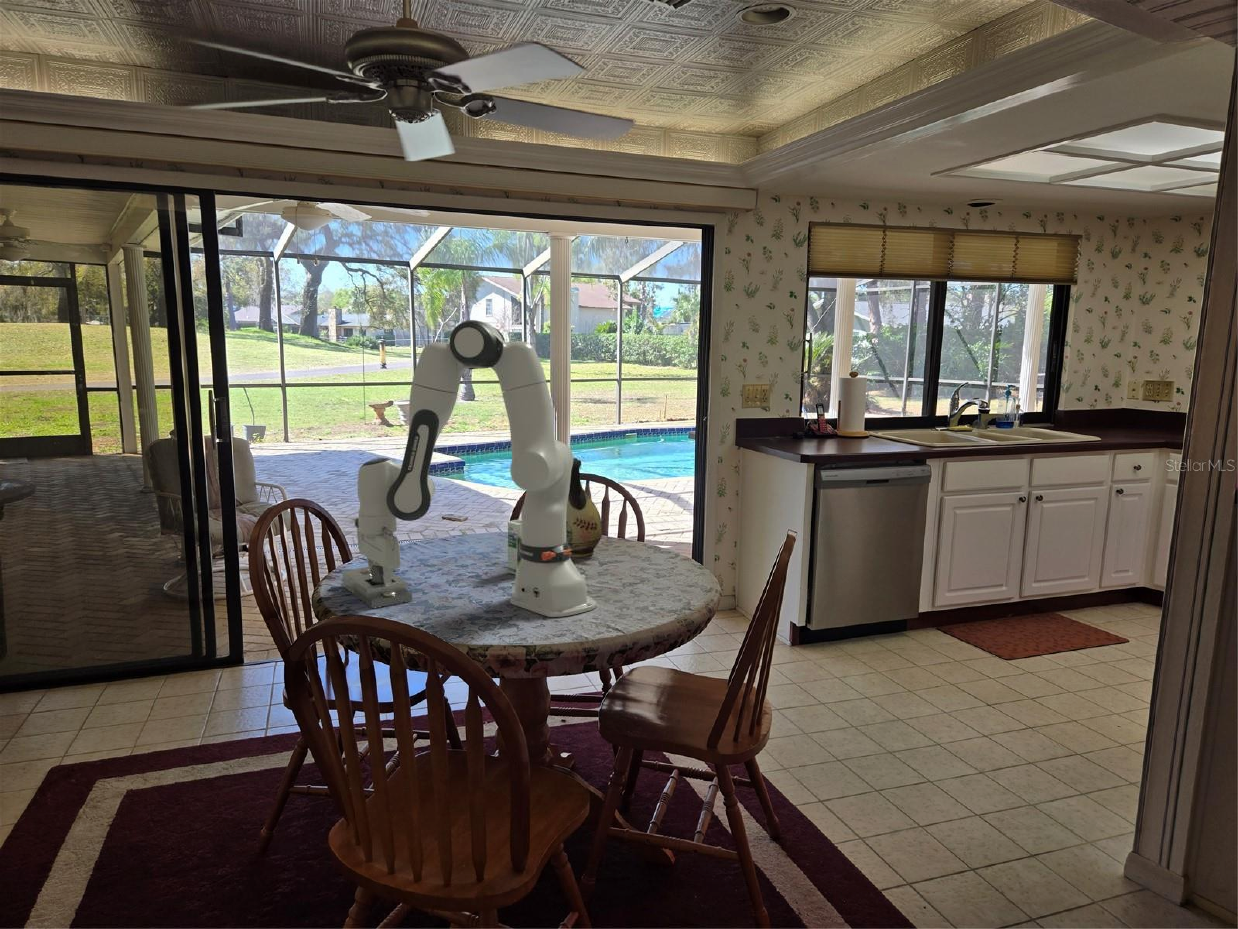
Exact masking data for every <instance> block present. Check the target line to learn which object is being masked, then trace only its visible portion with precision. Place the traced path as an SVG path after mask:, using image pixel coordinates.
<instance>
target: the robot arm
mask: <svg viewBox="0 0 1238 929" xmlns="http://www.w3.org/2000/svg"><path fill="white" fill-rule="evenodd" d="M478 369H479V370H482V369H492V370H493V371H494V373H495V374H496V376H497V379H498V381H499V386H500V391H501V395H502V399H503V402H504V403H503V404H504V406H505V410H506V415H507V419H508V422H509V423H508V424H509V430H510V448H511V464H510V477H511V479H512V481H513V483H514V484H515V485H516V486H517V487H518V488H520V489H522V490H523V491H525V497H524V501H523V505H522V507H521V515H520V516H521V519H520V520H521V531H522V541H521V542H520V547H519V551H520V557H521V561H520V564H519V566H518V567H517V569H516V575H515V581H514V591H513V592H514V593H513V596H512V597H511V598H510V600H509V601H510V602H509V604H511V605H514V606H516V607H519V608H523V609H526V610H528V611H531V612H533V613H537V614H539V615H542V616H544V617H545V616H546V617H549V618H556V617H557V618H558V617H560V618H561V617H566V616H567V617H568V616H573V615H577V614H582V613H585V612H589V611H591V610H594V609H596V608H597V607H598V602H597V601H596V600H594V598H592V597H591V596H589V595H588V589H587V583H586V582H587V577H586V575H585V574H581V572H580V571H579V569H578V567H577V566H576V565H575V564H574V562H573V561H572V559H571V558H572V557H571V554H572V553H570V551H571V550H572V549H570V548H569V545H568V542H567V541H566V511H567V501H568V495H569V488H570V479H571V470H572V466H573V458H574V454H573V451H572V450H571V448H570V446H569V445H567V444H566V443H565V442H562V441H559V440H556V439H555V430H554V420H555V419H554V418H555V411H554V407H553V404H552V403H553V402H552V399H551V394H550V392H549V391H550V390H549V387H548V383H547V379H546V375H545V372H544V368H543V366H542V364H541V360H540V358H539V355H538V353H537V351H536V349H535V348H534V346H533V345H532V344H531V343H529V342H527V341H524V340H523V341H522V340H515V341H506V340H505V338H504V335H503V334H502V333H501V332H500V330H498V329H497V328H496V327H494V326H492V325H491V324H490V323H488V322H484V321H481V320H476V319H475V320H474V319H470V320H469V319H468V320H466V321H462V322H459V324H457V325H456V326H455V327H454V329H453V330H452V332H451V334H450V336H449V342H448V343H447V342H441V341H435V342H431V343H428V344H426V346H424V348H423V349H422V351H421V353H420V356H419V358H418V362H417V365H416V367H415V371H414V374H413V377H412V382H411V386H410V387H411V388H410V395H409V404H408V405H409V409H408V411H409V412H408V413H409V414H408V415H409V417H408V420H409V421H408V435H407V442H406V444H405V445H406V446H405V449H404V456H403V459H402V463H401V464H399V463H396V462H394V460H392V458H388V457H383V458H382V457H381V458H375V459H371V460H368V461H366V462H364V463H362V464H361V466H360V467H359V469H358V474H357V497H358V500H359V508H358V517H356V518H354V527H355V528H356V537H357V546H358V550H359V553H360V554H361V555H363V556H364V557H366V563H367V567H369V573H370V574H371V575H372V572H371V566H372V565H373V564H375V563H377V564H378V565H380V566H381V567H383V571H384V574H383V576H382V582H383V583H384V584H390V583H391V582H392V579H391V576H392V573H393V574H394V569H399V568H400V567H401V564H402V560H401V547H400V544H399V539H398V537H397V536H396V535H394V533H395V532H396V531H397V530H398V524H397V523H398V521H397V519H398V520H401V521H406V522H413V521H416V520H420V519H421V518H423V516H425V515H426V514H427V513H428V511H429V509H430V507H431V502H432V499H433V498H434V495H435V491H436V490H435V484H434V481H433V479H432V478H431V476H429V474H430V473H429V472H430V467H431V463H432V459H433V454H434V450H435V445H436V443H437V441H438V438H439V437H440V435H441V432H442V431H443V430H444V427H445V426H446V425H447V423H449V420H450V418H451V416H452V413H453V410H454V408H455V405H456V403H457V398H458V393H459V388H460V384H461V380H462V378H463V375H464V373H466V371H467V370H478Z"/></svg>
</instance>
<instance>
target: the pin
mask: <svg viewBox="0 0 1238 929" xmlns="http://www.w3.org/2000/svg"><path fill="white" fill-rule="evenodd" d="M371 572H372V586H375V585H381V584H384V583H383V582H382V576H383V574H384V571H383V567H381V566H380V565H378V564H377V563H375V564H373V565H372V566H371Z"/></svg>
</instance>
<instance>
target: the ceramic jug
mask: <svg viewBox="0 0 1238 929" xmlns="http://www.w3.org/2000/svg"><path fill="white" fill-rule="evenodd" d="M581 467H582V461H581V460H580V459H578V458H576V457H573V466H572V470H571V479H570V488H569V495H568V501H567V511H566V541H567V542H568V545H569V548H570V549H572V550H571V551H570V553H572V554H571V557H570V558H583V557H587V556H592V555H594V553H595V550H594V549H596V548H597V546H598V544H599V543H600V541H601V539H602V536H603V530H604V529H603V522H602V518H601V515H600V512H599V509H598V507H597V506H596V505H595V502H594V501H593V500H592V498H591V497H590V496H589V495H588V493H587V492H586V489H585V490H584V488H583V484H582V483H581V472H580V468H581Z"/></svg>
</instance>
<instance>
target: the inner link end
mask: <svg viewBox="0 0 1238 929" xmlns="http://www.w3.org/2000/svg"><path fill="white" fill-rule="evenodd" d="M353 595H354V596H355V597H356V596H357V597H358V598H357V597H356V598H357V599H359V600H360V599H361V600H362V601H363V602H362V601H361V600H360V601H361V602H362V603H364V602H365V603H366V604H367V605H366V604H365V603H364V604H365V605H366V606H367V607H369V606H370V607H371V608H374V609H376V608H375V607H379V606H385V607H388V606H389V607H390V606H393V605H394V604H395V605H400V604H404V603H403V602H405V603H410V602H413V593H412V592H411V591H409V590H408V589H407V590H406V591H400V592H395V591H387V592H383V595H378V596H373V597H368V598H367V597H366V596H365V595H363V594H362V593H361V592H359V591H358V590H357V589H356V588H354V594H353ZM399 603H400V604H399ZM370 607H369V608H370ZM371 608H370V609H371ZM379 608H380V607H379Z"/></svg>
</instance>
